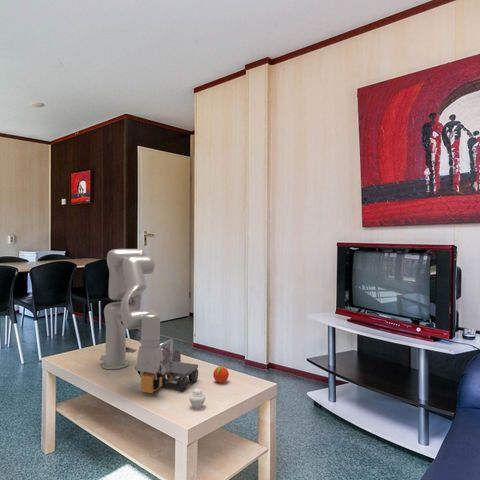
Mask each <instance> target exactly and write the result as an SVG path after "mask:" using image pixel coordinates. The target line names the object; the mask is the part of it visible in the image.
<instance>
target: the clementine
mask: <svg viewBox="0 0 480 480" xmlns="http://www.w3.org/2000/svg"><path fill="white" fill-rule="evenodd" d="M229 375H230V372H229V370H228V369H227V367H225V366H217V367H216V368H214V370H213V379H214V380H215V381H216V382H217V383H225V382H227V380H228V378H229Z"/></svg>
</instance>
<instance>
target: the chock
mask: <svg viewBox="0 0 480 480" xmlns="http://www.w3.org/2000/svg"><path fill="white" fill-rule="evenodd" d="M154 380H155V378H154V374H153V373H144V374H143V375H141V378H140V391H141V392H145V393H150V394H152V393H154V392H155V391H157V390H158V389H159V388H162V387H161V386H162V377H161V378H159V388H157V389H156V390H154V389H153V386H154Z"/></svg>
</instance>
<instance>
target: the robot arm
mask: <svg viewBox="0 0 480 480" xmlns="http://www.w3.org/2000/svg"><path fill="white" fill-rule="evenodd" d="M106 262H107V263H106V264H107V267H108V270H109V271H108V272H109V274H108V275H109V277H108V297H109V299H110V300H111V301H114V302H110V303H108V304H106V305H105V307H104V309H103V314H104V321H105V354H104V355H103V354H102V355H100V357H99V361H103V363H102V365H101V368H103V369H104V370H108V371H109V370H112V371H113V370H121V369H124V368H126V367H128V366H129V365H130V364H129V361H128V360H126V353H127V352H126V347H127V345H126V344H127V339H126V338H127V337H126V336H127V331H126V330H139V329H141V330H140V333H141V334H140V339H139V340H138V343H139V344H140V346H139V348H138V351H137V358H136V365H135V366H134V370H135V372H137V374H138V376H139V378H140V379H141V375H143V374H144V373H153V374H154V378H155V380H154V386H153V389H154V390H155V391H157V390H158V389H159V388H160V387H159V378H161V376H162V375H163V374H165V373H166V372H167V371H166V369H165V367H164V366H163V355H162V350H163V349H162V346H160V344H161V316H160V314H159V313H157V312H155V310H153V309H141V305H142V293H143V292H144V291H145V290H146V289H147V282H146V279H145V275H149V274H153V273H154V271H155V261H154V259H153V257H152V256H151V255H150V254H149V253H148V252H146V251H145V250H144V249H142V248H117V249H116V248H115V249H111V250H109V251H108V252H107V255H106ZM115 301H116V302H115ZM159 370H161V371H162V372H161V373H160V371H159ZM157 388H158V389H157ZM156 389H157V390H156Z"/></svg>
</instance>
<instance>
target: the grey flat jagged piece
mask: <svg viewBox="0 0 480 480" xmlns="http://www.w3.org/2000/svg"><path fill="white" fill-rule="evenodd" d="M136 351H137V349H134V348H133V347H129V346H126V353H133V352H136Z"/></svg>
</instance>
